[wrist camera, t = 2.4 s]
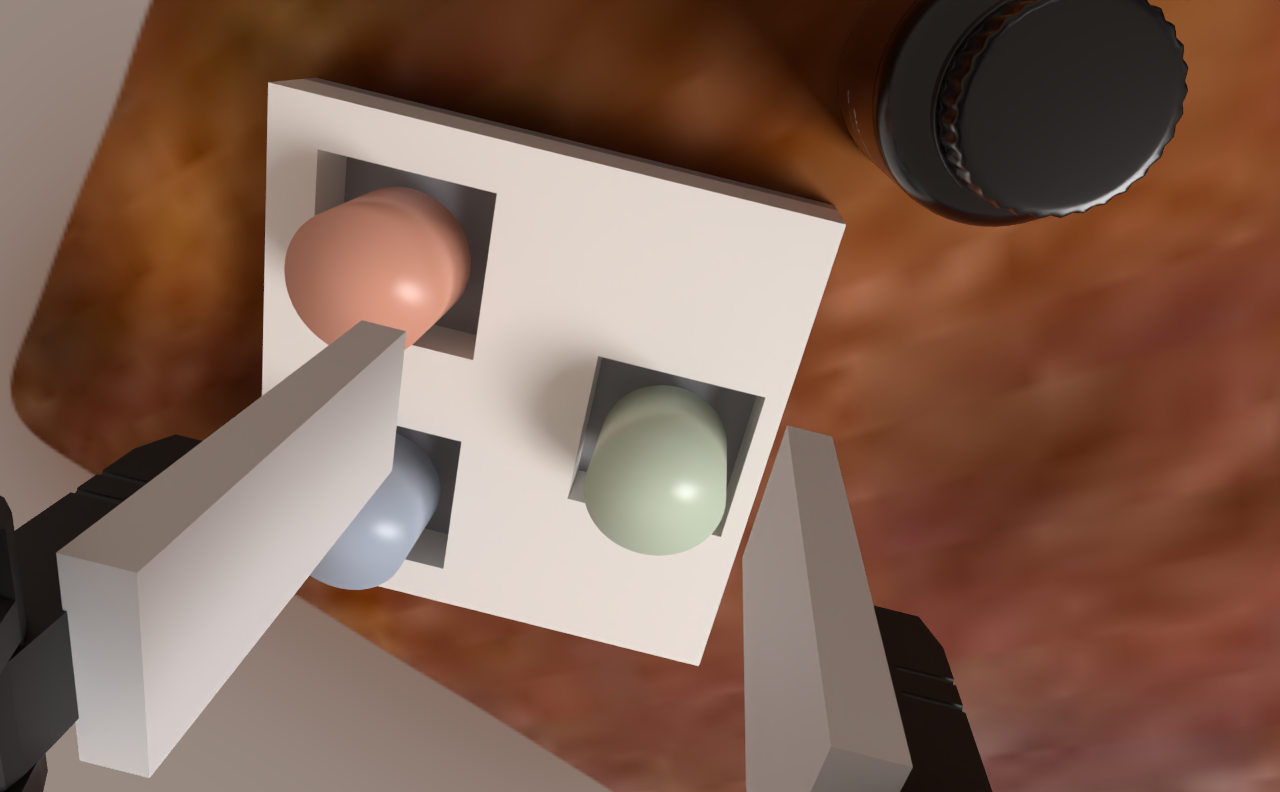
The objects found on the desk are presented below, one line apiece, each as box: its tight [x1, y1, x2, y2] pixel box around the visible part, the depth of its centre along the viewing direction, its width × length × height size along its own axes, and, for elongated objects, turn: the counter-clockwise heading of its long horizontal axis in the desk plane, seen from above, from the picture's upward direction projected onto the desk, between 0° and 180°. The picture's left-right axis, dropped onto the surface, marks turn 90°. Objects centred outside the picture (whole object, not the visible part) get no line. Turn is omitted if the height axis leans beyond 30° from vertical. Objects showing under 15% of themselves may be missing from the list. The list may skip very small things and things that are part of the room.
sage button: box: [584, 385, 727, 556], centre depth 30 cm, size 5×5×4 cm
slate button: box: [310, 433, 441, 590], centre depth 32 cm, size 5×5×4 cm
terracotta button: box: [284, 186, 471, 350], centre depth 28 cm, size 5×5×4 cm
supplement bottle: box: [838, 0, 1188, 227], centre depth 22 cm, size 7×7×12 cm
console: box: [262, 78, 846, 666], centre depth 33 cm, size 20×20×3 cm
